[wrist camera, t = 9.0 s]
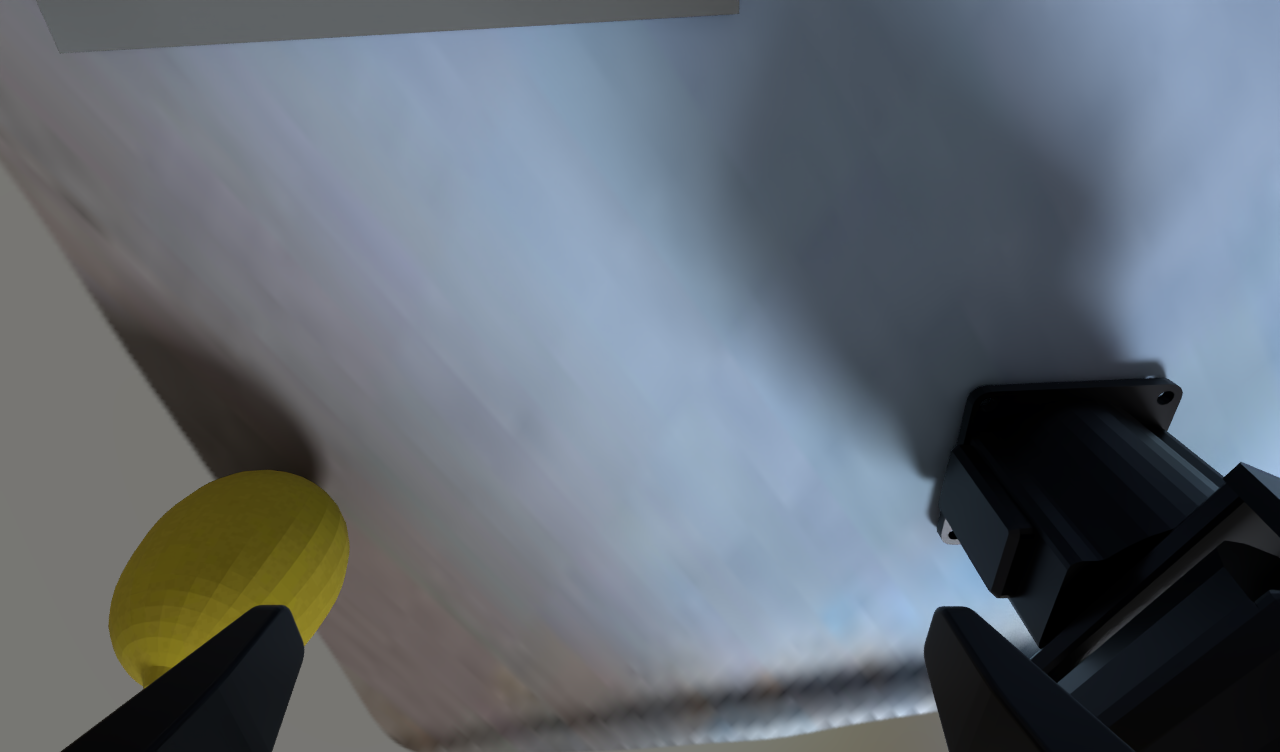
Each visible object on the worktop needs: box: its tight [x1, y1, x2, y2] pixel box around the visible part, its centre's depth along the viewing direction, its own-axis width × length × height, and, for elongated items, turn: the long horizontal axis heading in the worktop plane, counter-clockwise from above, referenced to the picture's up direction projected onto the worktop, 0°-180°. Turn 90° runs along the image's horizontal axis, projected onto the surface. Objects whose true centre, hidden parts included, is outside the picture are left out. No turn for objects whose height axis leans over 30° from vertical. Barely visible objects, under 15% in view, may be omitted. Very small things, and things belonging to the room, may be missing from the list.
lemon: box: [109, 470, 349, 688], centre depth 19 cm, size 6×6×8 cm
